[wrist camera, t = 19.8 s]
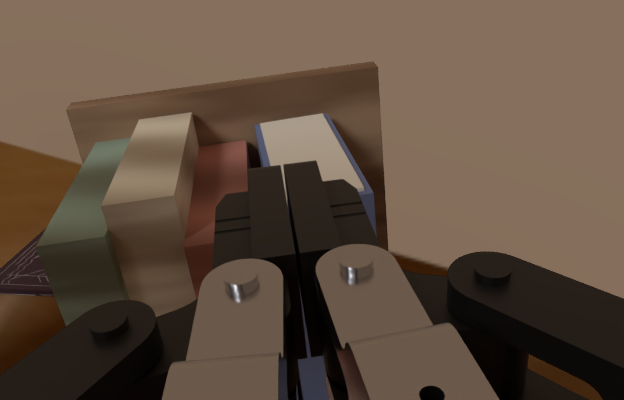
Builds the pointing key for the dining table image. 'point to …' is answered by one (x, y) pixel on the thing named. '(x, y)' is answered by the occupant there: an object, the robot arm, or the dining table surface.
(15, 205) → the dining table surface
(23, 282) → the chocolate bar
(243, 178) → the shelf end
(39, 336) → the dining table surface
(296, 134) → the boxed book
